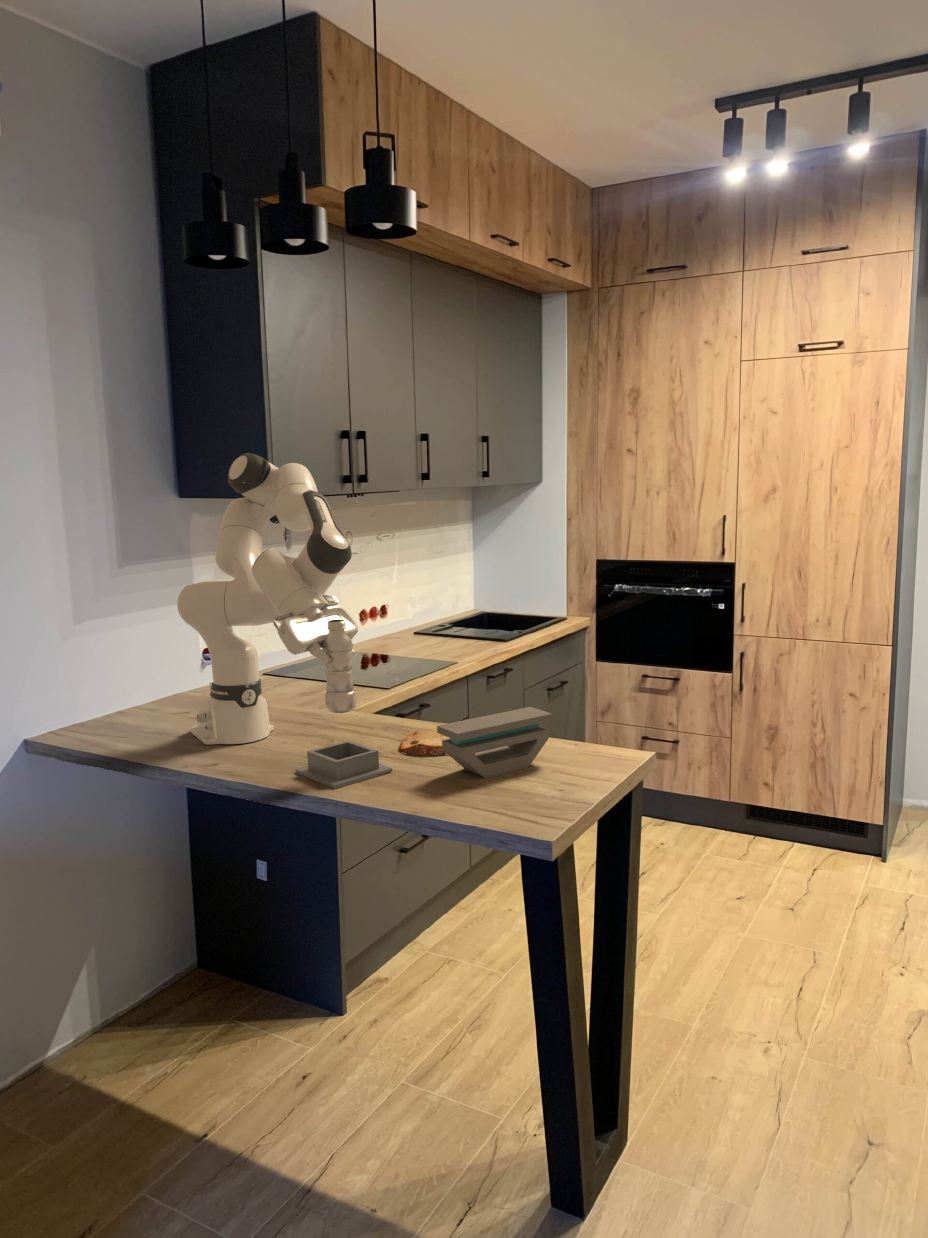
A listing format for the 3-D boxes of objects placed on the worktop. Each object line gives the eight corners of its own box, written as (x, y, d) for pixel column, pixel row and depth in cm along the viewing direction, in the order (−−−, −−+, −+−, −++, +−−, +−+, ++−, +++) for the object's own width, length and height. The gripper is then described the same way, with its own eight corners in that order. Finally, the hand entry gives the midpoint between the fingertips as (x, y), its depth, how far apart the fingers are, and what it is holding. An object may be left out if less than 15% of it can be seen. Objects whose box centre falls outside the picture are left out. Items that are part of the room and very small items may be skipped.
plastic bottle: (354, 716, 197) (350, 622, 194) (322, 716, 197) (317, 623, 194) (359, 708, 203) (354, 617, 200) (328, 708, 204) (323, 618, 201)
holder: (295, 772, 203) (294, 751, 202) (351, 757, 213) (350, 737, 212) (334, 789, 192) (333, 766, 191) (392, 771, 202) (391, 750, 201)
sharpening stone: (530, 753, 213) (530, 706, 211) (552, 761, 206) (552, 713, 205) (438, 775, 199) (437, 725, 197) (458, 784, 193) (457, 734, 191)
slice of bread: (494, 741, 224) (494, 726, 223) (460, 763, 208) (460, 747, 207) (428, 733, 232) (428, 719, 231) (391, 754, 216) (391, 738, 215)
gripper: (276, 608, 191) (315, 658, 188) (340, 595, 209) (377, 641, 205) (262, 627, 195) (300, 678, 191) (325, 613, 212) (361, 659, 208)
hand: (340, 659), depth 198 cm, fingers closed on plastic bottle, 6 cm apart
